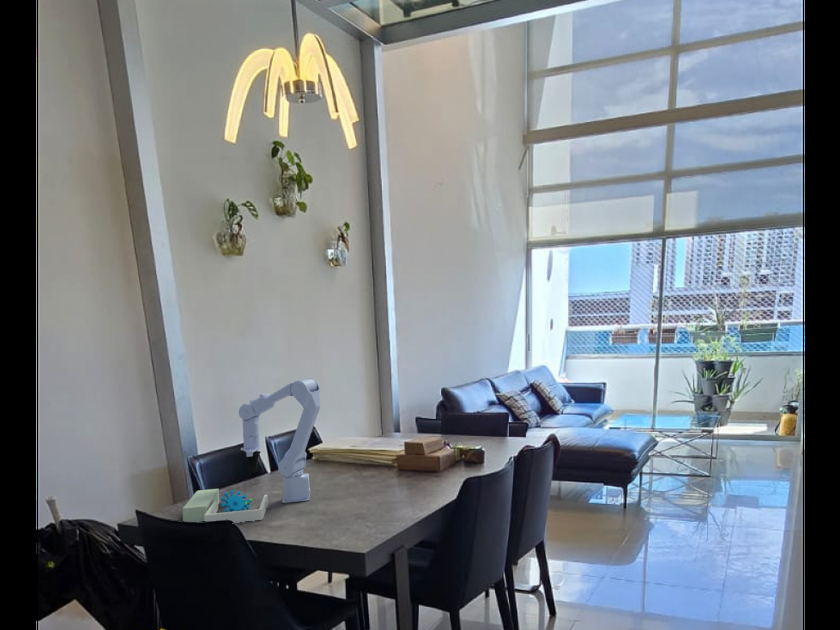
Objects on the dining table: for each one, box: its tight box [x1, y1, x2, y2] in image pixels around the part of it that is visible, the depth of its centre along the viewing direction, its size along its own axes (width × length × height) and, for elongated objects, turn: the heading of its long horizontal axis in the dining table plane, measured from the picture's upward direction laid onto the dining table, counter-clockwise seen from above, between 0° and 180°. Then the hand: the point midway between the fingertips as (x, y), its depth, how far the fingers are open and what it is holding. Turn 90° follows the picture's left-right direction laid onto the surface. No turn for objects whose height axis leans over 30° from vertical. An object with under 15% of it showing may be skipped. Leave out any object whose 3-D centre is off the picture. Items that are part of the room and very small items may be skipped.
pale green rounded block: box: [182, 488, 220, 522], centre depth 205 cm, size 8×22×5 cm, turn 9°
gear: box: [220, 489, 253, 512], centre depth 202 cm, size 11×6×10 cm
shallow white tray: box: [204, 494, 269, 524], centre depth 200 cm, size 18×18×4 cm
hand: (253, 472), depth 220 cm, fingers closed
